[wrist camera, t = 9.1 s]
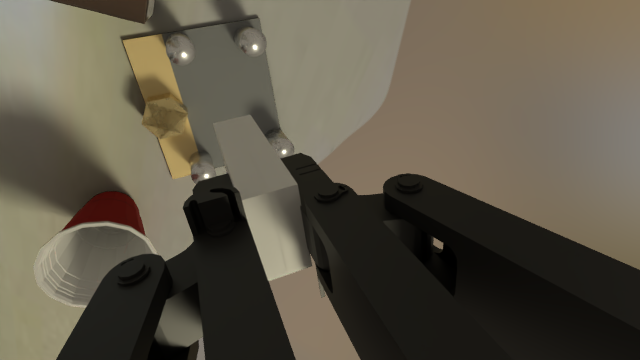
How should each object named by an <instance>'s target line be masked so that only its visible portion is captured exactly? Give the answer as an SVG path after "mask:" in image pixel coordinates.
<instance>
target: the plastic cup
mask: <svg viewBox="0 0 640 360" xmlns="http://www.w3.org/2000/svg"><path fill="white" fill-rule="evenodd" d="M141 254H156V255H157V252H156V250H155V249H154V247H153V245H152V244H151V242H150V241H149V239H148V237H147V236H145V232H144V228H143V224H142V220H141V217H140V215H139V209H138V207H137V205H136V204H135V202H134V200H133V199H132V198H130V197H129V196H127V195H126V194H123V193H120V192H117V191H107V192H103V193H101V194H98V195H96V196H94V197H93V198H92V199H91V200H90V201H88V202H87V203H86V205H85V206H84V207H83V208H82V209H80V210H79V211H78V212H77V214H76V215H75V216H74V217H73V218H72V219H71V221H70V222H69V223H68V224H67V225H66V226H65V228H64V229H63V230H62V231H60V232H59V233H57V234H56V235H55V236H54V237H53V238H52V239H50V240H49V241H48V242H47V243H46V244H45V245H43V246H42V247H41V248H40V251H39V253H38V256H37V258H36V261H35V263H34V265H33V268H34V273H35V278H36V283H37V285H38V286H39V287H40V288H41V289H42V290H43V291H44V292H45V293H46V294H47V295H48V296H49V297H50V298H52V299H54V300H57V301H59V302H61V303H64V304H66V305H68V306H74V307H84V308H86V307H87V305H88V303H89V302H90V300H91V298H92V296H93V295H94V293H95V291H96V289H97V288H98V286H99V284H100V282H101V281H102V279H103V278H104V277H105V275H106V274H107V273H108V272H109V271H110V270H111V269H112V268H114V267H115V266H116V265H118V264H119V263H120V262H122V261H124V260H127V259H128V258H131V257H134V256H138V255H141Z"/></svg>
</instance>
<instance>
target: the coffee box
mask: <svg viewBox="0 0 640 360" xmlns="http://www.w3.org/2000/svg"><path fill="white" fill-rule="evenodd" d="M50 1H54V2H58V3H62V4H66V5H71V6H75V7H79V8H83V9H87V10H91V11H95V12H99V13H102V14H107V15H110V16H114V17H118V18H122V19H126V20H130V21H134V22H138V23H142V24H145V22H146V21H147V20H148V19H149V18H150V17H151V15H153V10H154V2H155V0H50Z"/></svg>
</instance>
